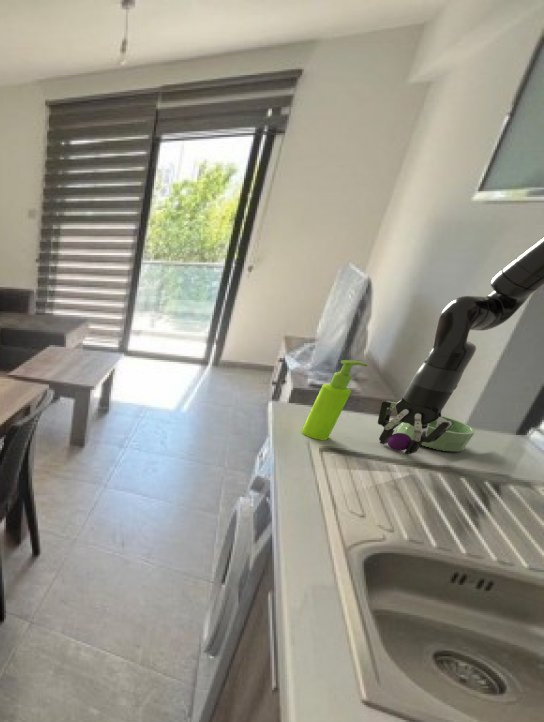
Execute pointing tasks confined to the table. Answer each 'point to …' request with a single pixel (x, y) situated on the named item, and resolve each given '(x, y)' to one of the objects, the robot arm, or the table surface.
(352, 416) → the table surface
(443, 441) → the bowl
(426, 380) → the robot arm
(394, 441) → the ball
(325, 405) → the soap dispenser
